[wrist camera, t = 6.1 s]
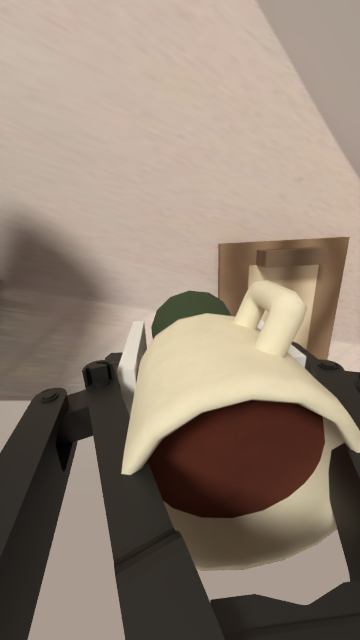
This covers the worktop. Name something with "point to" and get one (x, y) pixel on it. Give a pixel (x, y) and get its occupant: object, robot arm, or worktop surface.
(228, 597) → the robot arm
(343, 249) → the seating jig
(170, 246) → the worktop surface
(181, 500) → the character mug
